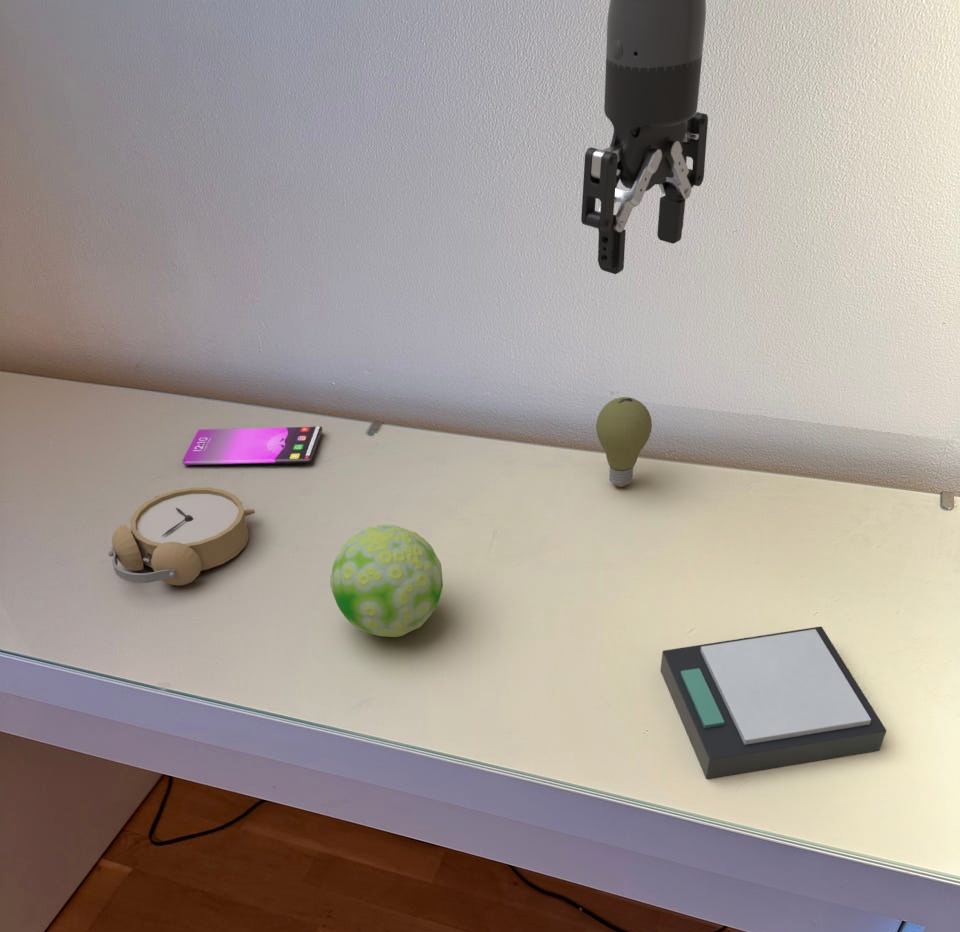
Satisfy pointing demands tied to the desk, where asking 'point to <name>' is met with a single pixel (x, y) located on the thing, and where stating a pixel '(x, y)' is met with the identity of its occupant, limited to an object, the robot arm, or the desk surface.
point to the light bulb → (623, 436)
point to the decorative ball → (387, 580)
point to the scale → (769, 702)
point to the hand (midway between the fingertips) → (640, 255)
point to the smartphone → (253, 446)
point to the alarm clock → (180, 535)
